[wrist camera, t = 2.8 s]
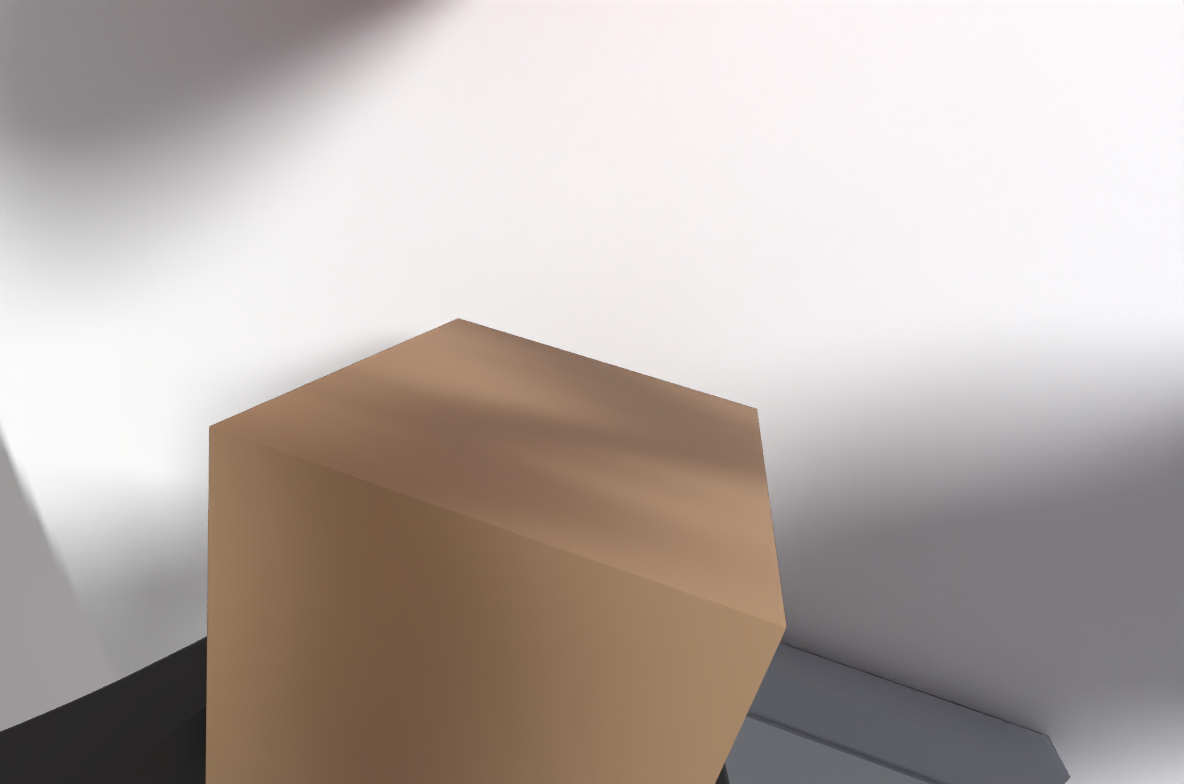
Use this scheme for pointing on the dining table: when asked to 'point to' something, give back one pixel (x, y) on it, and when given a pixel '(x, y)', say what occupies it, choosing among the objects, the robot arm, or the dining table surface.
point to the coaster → (875, 733)
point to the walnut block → (486, 573)
